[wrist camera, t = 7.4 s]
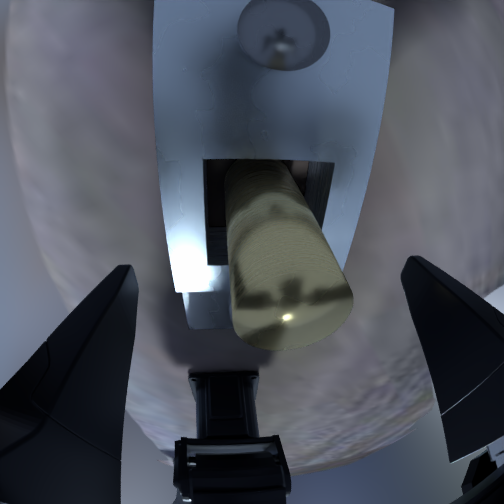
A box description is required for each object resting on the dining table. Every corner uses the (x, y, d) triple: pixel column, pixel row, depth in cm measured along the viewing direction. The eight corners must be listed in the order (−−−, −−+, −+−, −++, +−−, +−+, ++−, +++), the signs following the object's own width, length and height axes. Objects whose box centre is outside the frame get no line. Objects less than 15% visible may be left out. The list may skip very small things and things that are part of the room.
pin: (286, 212, 15) (335, 344, 8) (224, 213, 14) (232, 353, 8) (293, 153, 13) (369, 268, 6) (224, 152, 12) (232, 273, 6)
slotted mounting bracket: (306, 306, 19) (319, 348, 17) (189, 311, 18) (187, 357, 16) (358, 15, 8) (403, 7, 6) (170, -2, 7) (152, -24, 5)
